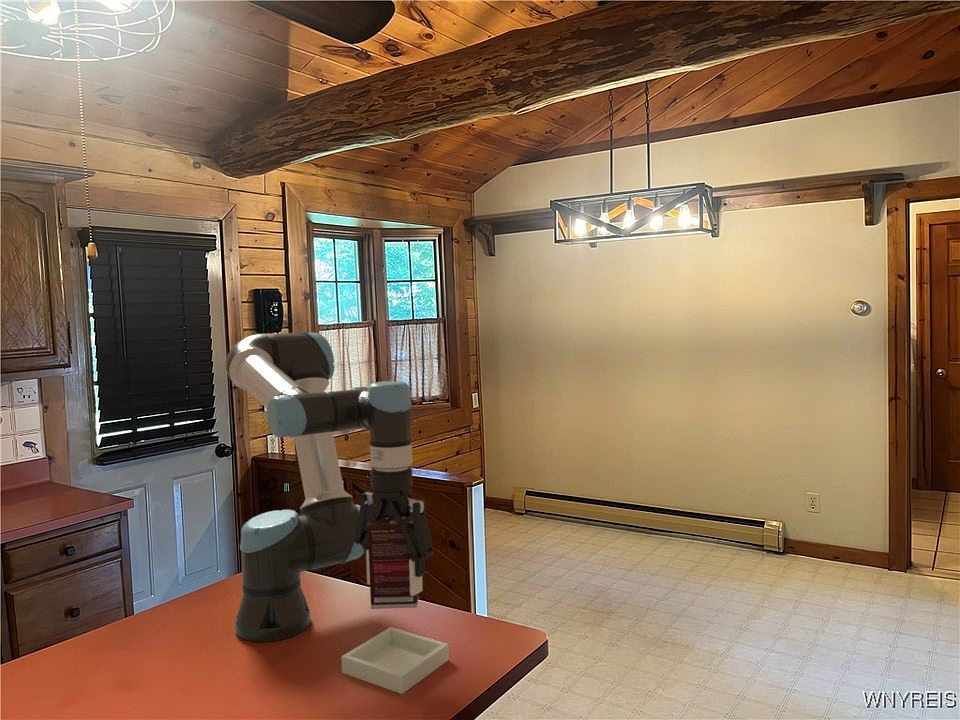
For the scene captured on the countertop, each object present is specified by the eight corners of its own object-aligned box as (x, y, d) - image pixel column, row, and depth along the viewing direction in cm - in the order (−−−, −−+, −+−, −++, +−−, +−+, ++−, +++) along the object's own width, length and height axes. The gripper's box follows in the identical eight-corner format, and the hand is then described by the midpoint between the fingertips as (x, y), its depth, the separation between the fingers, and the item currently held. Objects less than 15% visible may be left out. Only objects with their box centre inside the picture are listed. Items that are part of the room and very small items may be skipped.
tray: (341, 672, 132) (341, 656, 132) (391, 642, 144) (390, 626, 144) (402, 694, 125) (401, 676, 124) (448, 659, 136) (448, 643, 136)
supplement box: (419, 598, 136) (417, 515, 134) (417, 608, 131) (415, 522, 130) (373, 598, 136) (370, 515, 134) (369, 609, 131) (366, 523, 130)
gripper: (332, 464, 134) (335, 582, 136) (427, 478, 122) (430, 607, 124) (359, 457, 140) (362, 570, 142) (453, 469, 128) (455, 592, 130)
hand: (394, 587), depth 133 cm, fingers closed on supplement box, 9 cm apart
